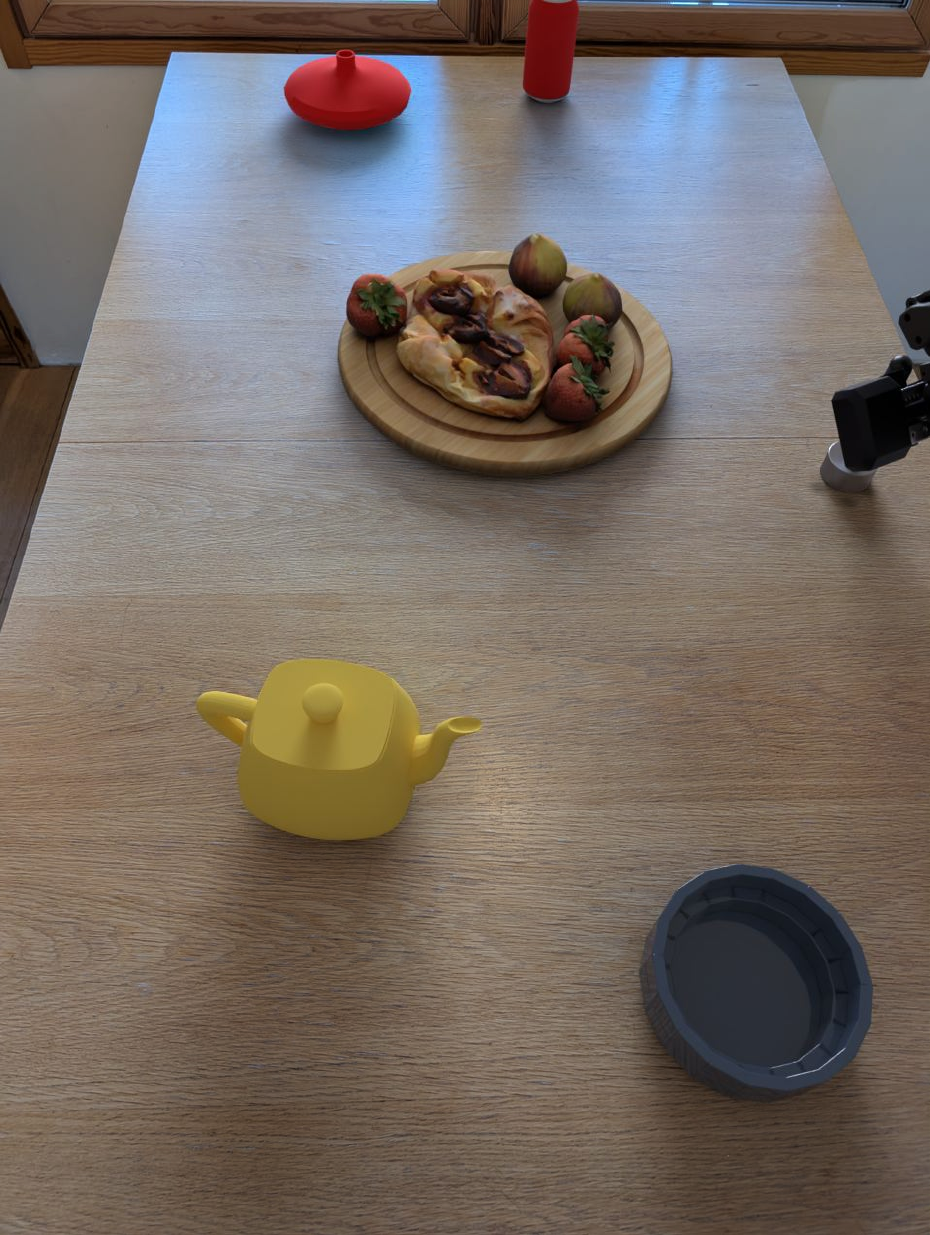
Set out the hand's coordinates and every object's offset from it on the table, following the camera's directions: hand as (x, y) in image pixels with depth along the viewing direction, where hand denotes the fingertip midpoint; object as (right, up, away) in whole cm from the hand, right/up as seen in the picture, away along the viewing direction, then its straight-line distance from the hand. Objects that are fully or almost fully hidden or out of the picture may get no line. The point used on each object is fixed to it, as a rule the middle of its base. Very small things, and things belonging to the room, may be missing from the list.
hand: (862, 409), depth 79 cm
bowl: (-17, -41, -22) cm, 49 cm away
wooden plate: (-30, +7, +12) cm, 33 cm away
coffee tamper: (0, -5, +5) cm, 7 cm away
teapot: (-42, -29, -14) cm, 53 cm away
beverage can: (-23, +51, +44) cm, 71 cm away
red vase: (-48, +46, +39) cm, 77 cm away
